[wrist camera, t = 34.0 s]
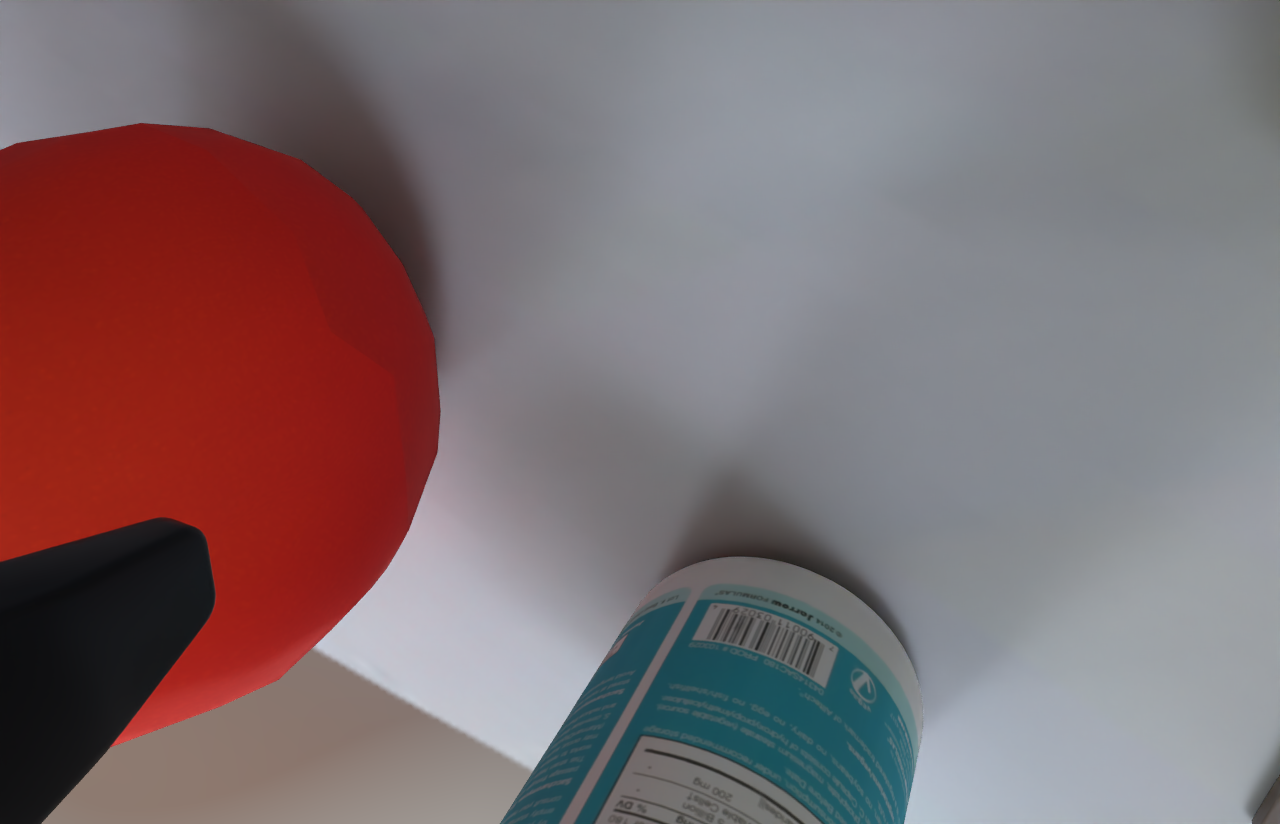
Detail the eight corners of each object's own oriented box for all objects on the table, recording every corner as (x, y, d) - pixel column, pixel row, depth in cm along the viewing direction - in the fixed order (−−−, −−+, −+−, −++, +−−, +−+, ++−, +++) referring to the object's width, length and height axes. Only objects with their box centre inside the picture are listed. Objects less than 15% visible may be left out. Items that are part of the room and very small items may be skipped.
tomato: (128, 358, 29) (-441, 643, 19) (204, -45, 22) (-647, 40, 12) (448, 592, 28) (41, 1032, 18) (634, 250, 21) (142, 641, 11)
